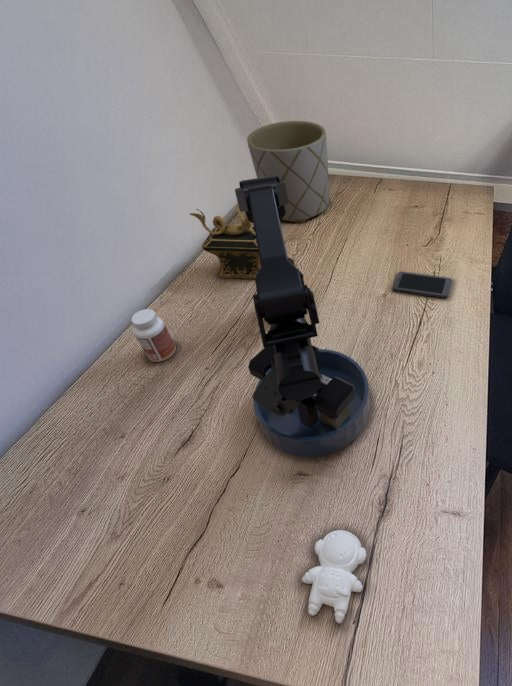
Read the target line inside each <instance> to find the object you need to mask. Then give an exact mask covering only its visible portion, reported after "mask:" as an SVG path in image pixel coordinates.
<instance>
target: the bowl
mask: <svg viewBox="0 0 512 686" xmlns="http://www.w3.org/2000/svg"><path fill="white" fill-rule="evenodd" d="M318 351H319V352H318V353H317V354H316V355H315V359H316V363H318V364H320V365H321V368H322V369H321V370H320V371H319V374H322V375H324V376H326V377H328V378H330V379H332V378H333V377H339V378H341V379H343V380H345V381H347V382H349V383H351V384H353V385H354V387H355V394H356V396H355V398H354V399H353V400H352V401H351V402H350V404H349V411H350V415H349V416H348V418H347V419H346V420H345V421H344V423H343V424H342V425H341V426H340V428H338V429H335V428H333V427H331V426H330V425H328V424H326V423H324V422H322V421H321V419H320V414H319V411H318V410H317V412H318V417H319V420H318V421H317V423H316V424H315V425H314V426H313V427H312V428H311V429H310V428H309V427H307V426H305V425H303V424H302V423H301V421H300V416H299V412H298V408H296V410H295V411H294V413H293V414H291V415H290V414H288V413H286V414H285V415H284V416H278V415H276V414H274V413H272V412H271V411H269V410H267V409H266V408H264V407H262V406H261V405H260V404H258V403H257V402H256V401H254V400H253V407H254V414H255V416H256V418H257V421H258V424H259V427H260V429H261V431H262V433H263V435H264V437H265V438H266V440H267V442H269V443H270V444H271V446H273V447H274V448H275V449H277V450H279V451H280V452H281V453H284V454H287V455H289V456H293V457H297V458H306V459H307V458H308V459H309V458H319V457H324V456H328V455H331V454H333V453H336V452H339V451H340V450H342V449H344V448H345V447H347V446H349V445H350V444H352V443H353V441H355V440H356V438H357V437H358V436H359V435H360V434H361V433H362V431H363V429H364V428H365V426H366V425H367V423H368V421H369V420H368V419H369V416H370V411H371V410H370V409H371V401H370V399H371V398H370V388H369V387H370V386H369V380H368V377H367V375H366V373H365V371H364V369H363V368H362V367H361V366H360V364H359V363H358V362H357V361H355V360H354V359H353V358H351V356H349V355H347V354H344V353H342V352H340V351H335V350H332V349H326V348H323V349H322V348H318ZM270 372H271V368H270V369H269V370H268V371H267V372H266V373H265V374H266V375H268V374H269V373H270ZM261 382H262V380H260V379H258V381H257V385H256V387H255V390H256V389H257V387H258V386H259V384H260V383H261ZM255 390H254V391H255Z"/></svg>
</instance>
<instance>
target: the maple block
mask: <svg viewBox="0 0 512 686" xmlns="http://www.w3.org/2000/svg"><path fill="white" fill-rule="evenodd" d="M319 414H320V419H321V421H322V422H324V423H326V424H328V425H330V426H331V427H333V428H335V429H338V428H340V426H341V425H342V424H343V423H344V421H345V420H346V419H347V418H348V416H349V415H350V411H349V405H348V406H347V407H346V408H345V410H344V411H343V412H342V413H341V414H340V416H339V417H338V418H336V419H331V418H329V417H327V416H326V415H324V414H322V413H320V412H319Z"/></svg>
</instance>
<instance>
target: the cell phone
mask: <svg viewBox="0 0 512 686" xmlns="http://www.w3.org/2000/svg"><path fill="white" fill-rule="evenodd" d="M452 283H453V279H452V278H451V277H445V276H437V275H429V274H422V273H414V272H408V271H400V272H398V273H397V275H396V278H395V281H394V284H393V286H392V290H393V291H394V292H400V293H406V294H414V295H415V294H416V295H421V296H427V297H435V298H440V299H441V298H442V299H447V298H449V295H450V290H451V287H452Z"/></svg>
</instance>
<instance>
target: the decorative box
mask: <svg viewBox="0 0 512 686" xmlns="http://www.w3.org/2000/svg"><path fill="white" fill-rule="evenodd" d="M196 210H197V211H198V212H199V213H195V212H190V213H189V214H188V215H190V216H193V217H195V218H197V219H198V220H199V222H200V223H201V225H202V227H203V228H204V229H205V230H206V231H207V232H208V233H209V234H208V236H207V237H206V239H205V240H204V241H203V242H202V244H201V247H202V249H203V250H204V251H205V252H207V253H209V254H212V255H214V256H216V258H217V259H218V261H219V272H218V276H219V277H220V278H228V279H229V278H231V279H251V280H252V279H253V280H255V277H256V275H257V273H258V271H259V269H260V267H261V262H260V256H259V251H258V246H257V240H256V235H255V229H254V225H252V222H250V221H248V219H247V216H246V215H245V216H244V215H243V214H242V213H241V211H240V210H239V206H238V205H237V207H236V213H237V215H238V218H240V220H241V224H239V223H232V224H227V222H226V220H225V219H224V217H222V216H221V215H215V216H214V217H213V219H212V224H213V226H214V227H215V228H213V229H212V230H211V229H210V228H209V227H208V226H207V224H206V215H205V214H204V212H203V211H201V210H200V209H198V208H196Z"/></svg>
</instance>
